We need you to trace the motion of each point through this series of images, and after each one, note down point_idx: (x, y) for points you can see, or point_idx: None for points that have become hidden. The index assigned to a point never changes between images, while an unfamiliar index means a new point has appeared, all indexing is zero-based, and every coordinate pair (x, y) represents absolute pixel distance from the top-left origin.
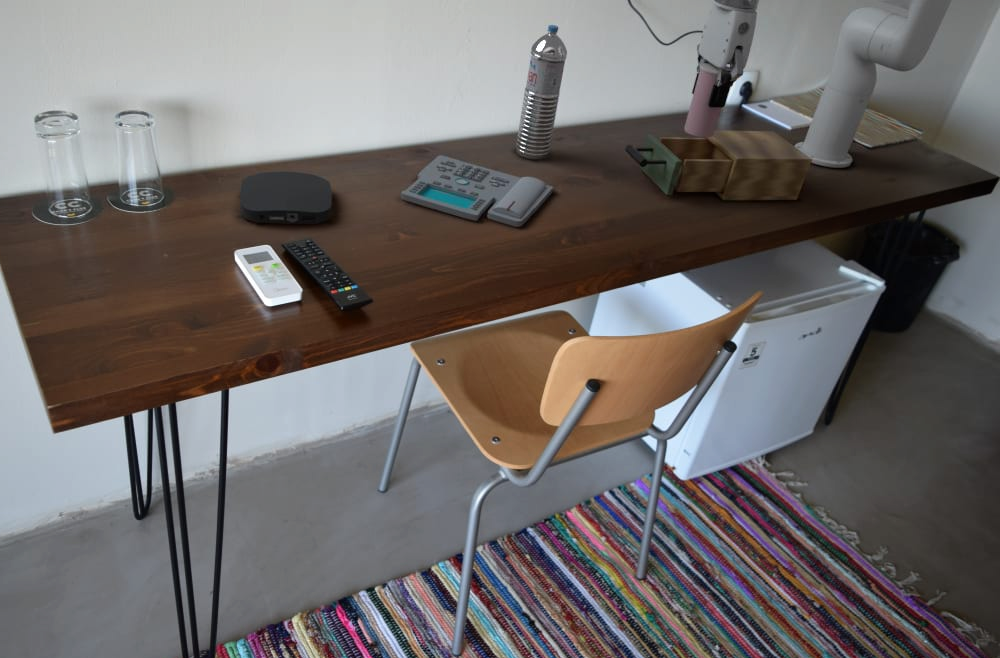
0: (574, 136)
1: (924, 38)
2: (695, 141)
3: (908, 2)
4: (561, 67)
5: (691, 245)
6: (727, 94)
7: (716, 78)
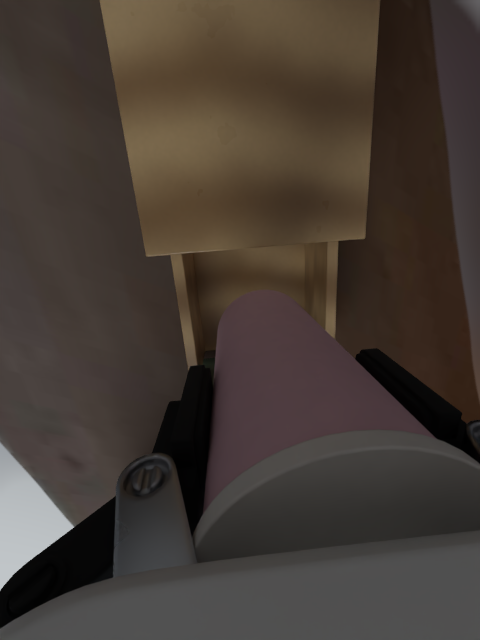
0: (47, 435)
1: None
2: (187, 282)
3: None
4: None
5: (465, 368)
6: (414, 381)
7: None
